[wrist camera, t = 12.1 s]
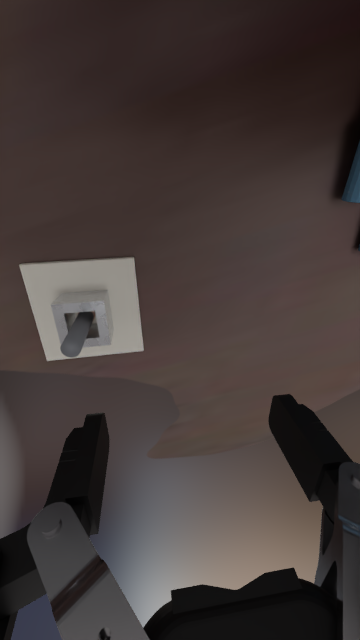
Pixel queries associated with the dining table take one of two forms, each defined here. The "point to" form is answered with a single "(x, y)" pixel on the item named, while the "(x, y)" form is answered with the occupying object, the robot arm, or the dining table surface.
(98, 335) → the collar
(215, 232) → the dining table surface
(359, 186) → the toy
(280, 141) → the dining table surface
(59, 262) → the post
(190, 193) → the dining table surface
